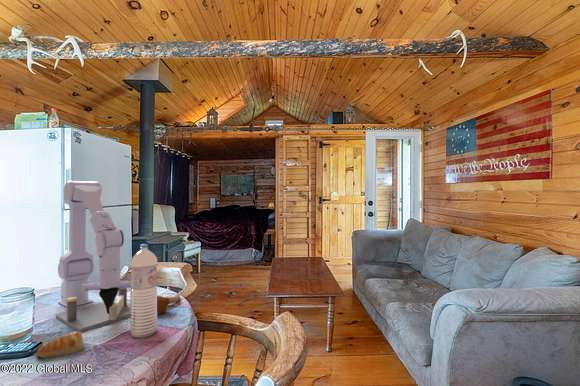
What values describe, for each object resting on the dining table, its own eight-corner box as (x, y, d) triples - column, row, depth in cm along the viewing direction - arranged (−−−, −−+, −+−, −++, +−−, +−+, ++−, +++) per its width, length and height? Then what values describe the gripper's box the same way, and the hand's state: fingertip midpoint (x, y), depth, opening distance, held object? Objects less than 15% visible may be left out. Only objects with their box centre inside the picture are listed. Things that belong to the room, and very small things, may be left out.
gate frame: (55, 317, 100) (55, 294, 100) (117, 301, 116) (117, 280, 116) (79, 332, 90) (79, 306, 90) (144, 312, 105) (144, 289, 105)
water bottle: (139, 341, 85) (140, 247, 85) (125, 335, 89) (125, 245, 88) (162, 331, 91) (162, 243, 91) (147, 326, 94) (147, 241, 94)
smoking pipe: (141, 317, 102) (141, 299, 102) (164, 298, 120) (164, 282, 120) (164, 317, 102) (164, 299, 102) (183, 298, 120) (183, 282, 120)
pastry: (38, 363, 74) (38, 347, 74) (35, 353, 79) (35, 337, 79) (85, 350, 80) (85, 335, 80) (80, 341, 85) (80, 327, 85)
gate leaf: (118, 306, 107) (118, 295, 107) (124, 305, 107) (124, 295, 107) (109, 320, 95) (109, 308, 95) (115, 319, 96) (115, 307, 96)
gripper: (78, 273, 93) (78, 319, 93) (132, 270, 97) (132, 314, 97) (86, 267, 99) (86, 311, 100) (137, 265, 103) (137, 306, 103)
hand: (109, 312), depth 99 cm, fingers closed
